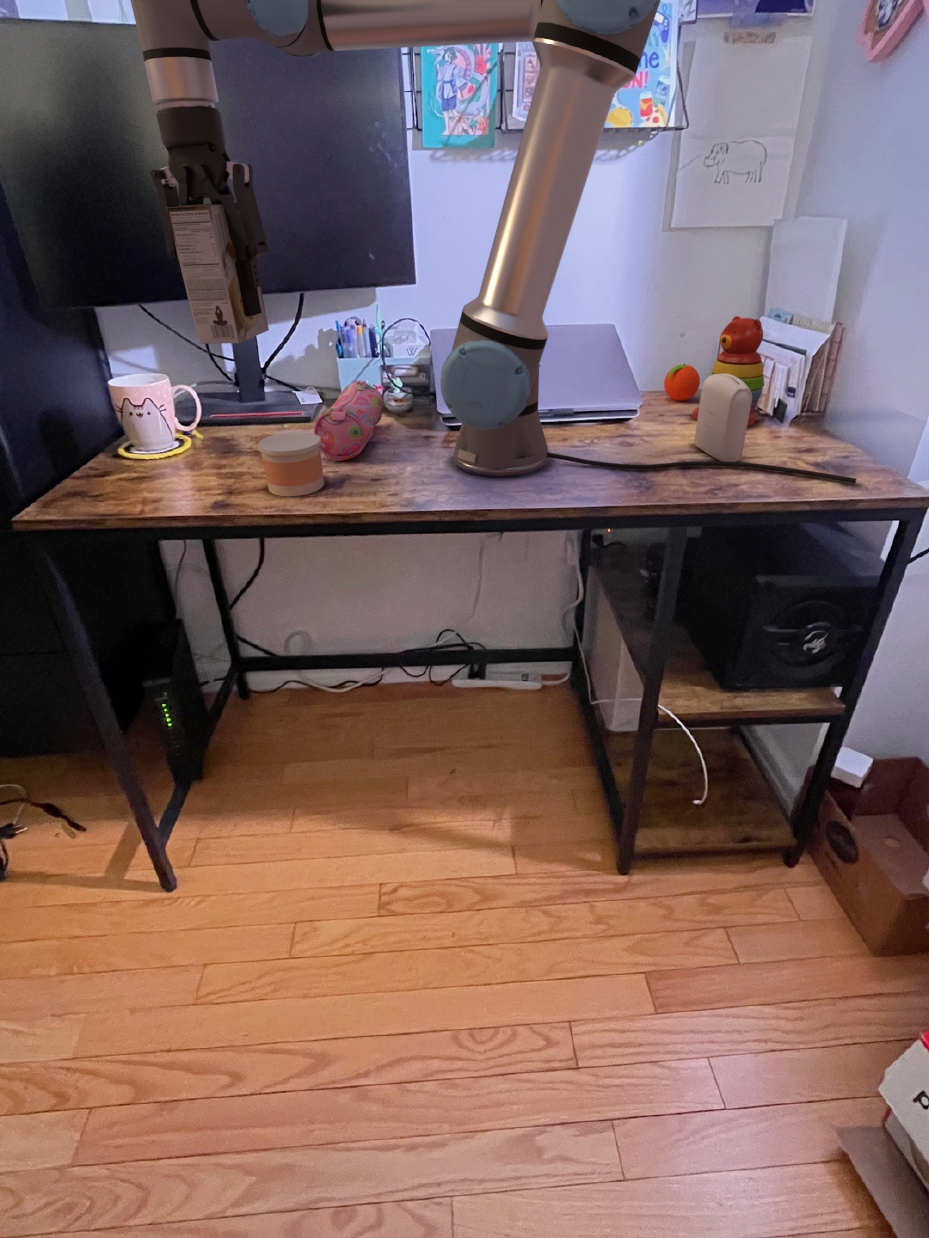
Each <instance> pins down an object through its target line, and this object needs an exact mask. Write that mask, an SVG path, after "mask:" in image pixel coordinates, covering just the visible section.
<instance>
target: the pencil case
mask: <svg viewBox="0 0 929 1238" xmlns="http://www.w3.org/2000/svg"><path fill="white" fill-rule="evenodd" d="M383 405H384V404H383V399H382V395H381V393H380V392H379V390H378V389H377V388H376V387H374V386H372V385H371V384H369V383H367V380H355V381H353V382H351V383H350V384H348V385H347V386H345V388H344V389H342V390H341V392H339V395H338V398H337V399H336V400H335V402H334V403H333V404H332V406H331V407H330V408H329V409H327V410H325V411H323V412H321V414H319V415H318V417H317V418H316V420H315V422H314V425H313V427H314V428H313V434H316V435H318V436H319V437H320V439H321V445H320V446H319V450H320V452H321V453H322V454H323V455H325V456H326V457H328V458H329V459H330V460H333V461H346V460H349V459H352V458H355V457H356V456H358V455H359V454H360V453H361V452H362V451H363V449H364V448H365V447H366V445H367V443H368V442H369V440H370V439H371V437H372V435H373V433H374V430H375V427H376V425H378V424H379V423H380V421H381V419H382V416H383V411H384V409H383V408H384V407H383Z"/></svg>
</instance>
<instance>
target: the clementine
mask: <svg viewBox="0 0 929 1238" xmlns="http://www.w3.org/2000/svg"><path fill="white" fill-rule="evenodd" d="M700 385H701V377H700V374H699V372H698V371H697V369H695V367H693V366H692V365H690V364H686V363H684V364H677V365H675V366H674V367H672V368H671V369H670V370H669V371H668V372H667V373H666V375H665V377H664V381H663V386H664V387H663V388H664V391H665V393H666V395H667V396H668V397H669V398H670V399H672V400H675V401H678V402H679V401H680V402H684V401H687V400H689V399H691V398H693V397H694V396H695V395H696V393H697V392H698V390H699V388H700Z"/></svg>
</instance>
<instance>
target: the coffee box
mask: <svg viewBox="0 0 929 1238" xmlns="http://www.w3.org/2000/svg"><path fill="white" fill-rule="evenodd" d="M234 203H235V205H236V208H237V210H238V212H239V208H238V204H237V201H234ZM166 209H167V212H168V216H169V221H170V225H171V229H172V233H173V237H174V241H175V246H176V250H177V254H178V258H179V259H178V258H177V259H178V262H179V266H180V270H181V275H182V279H183V282H184V287H185V292H186V296H187V299H188V303H189V308H190V312H191V316H192V321H193V323H194V328H195V333H196V337H197V341H198V344H202V345H204V344H205V345H206V344H207V345H208V344H209V345H212V344H213V345H214V344H217V345H218V344H242V343H243V342H246V341H248V340H250V339H252V338H255V337H257V336H259V335H261V334H263V333H266V332H268V331H269V330H270V328H269V324H268V318H267V312H266V307H265V303H264V297H263V291H262V287H261V284H260V287H257V291H258V296H259V302H260V307H261V313H260V314H257V315H253V316H245V312H244V307H243V302H242V297H241V291H240V286H239V281H238V276H237V271H236V266H235V262H239V261H238V260H237V259H236V258H238V257H239V256H238V254H237V251H236V249H235V247H234V245H233V243H232V241H231V239H230V234H229V229H228V224H227V219H226V214H225V210H224V206H223V205H222V204H212V203H203V204H199V205H187V206H181V205H180V206H178V207H167V208H166ZM239 214H240V212H239Z"/></svg>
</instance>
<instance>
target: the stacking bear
mask: <svg viewBox="0 0 929 1238" xmlns="http://www.w3.org/2000/svg"><path fill="white" fill-rule="evenodd" d="M763 338H764V329H763V326H762V322H761V320H759V319H756V318H751V317H740V316H739V315H736V316H734V317H733V318H732V319H731V321H730V322H729V323H728V324H727V325H726V326H725V327H724V329H723V330H722V332H721V333H720V336H719V344H720V347H721V348H722V352H720V354H719V355H718V356H717V359H716V360H715V361H714V364H713V366H712V370H711V373H710V375H709V376H711V375H714V374H731V375H733V376H735V377H737V378H739V379H740V380H742V381H743V382H744V383H745V384H746V385H747V386H748V388H749V389H750V391H751V394H752V402H751V407H750V413H749V419H748V424H747V428H748V427H750V426H752V425H754V423H756V413H755V410H756V407H757V406H758V403H759V400H760V398H761V395H762V392H763V387H764V383H765V375H764V362H763V360H762V356H761V354H760V353H758V352H757V351H758V349H759V348H760V346H761V344H762V342H763ZM698 412H699V406H698V407H696V408H695V409H693V411H692V414H691V418H693V420H696V421H697V419H698Z"/></svg>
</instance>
